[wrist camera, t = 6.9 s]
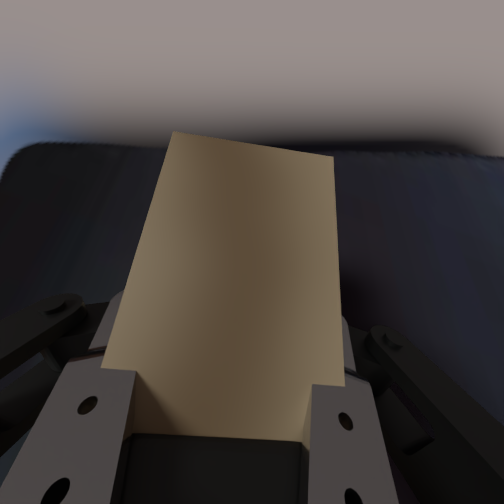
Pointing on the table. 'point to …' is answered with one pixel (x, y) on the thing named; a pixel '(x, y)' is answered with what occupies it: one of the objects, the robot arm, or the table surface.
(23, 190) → the table surface
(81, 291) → the table surface
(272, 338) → the block
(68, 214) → the table surface
